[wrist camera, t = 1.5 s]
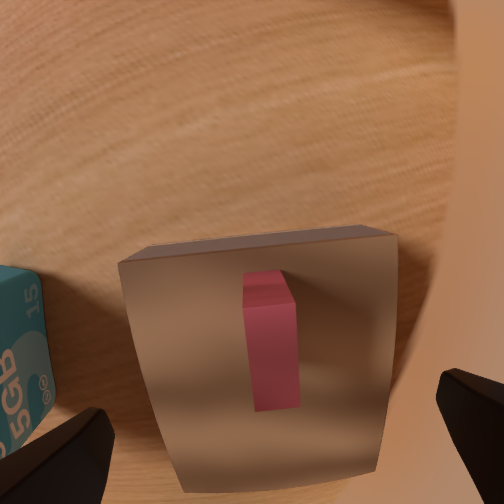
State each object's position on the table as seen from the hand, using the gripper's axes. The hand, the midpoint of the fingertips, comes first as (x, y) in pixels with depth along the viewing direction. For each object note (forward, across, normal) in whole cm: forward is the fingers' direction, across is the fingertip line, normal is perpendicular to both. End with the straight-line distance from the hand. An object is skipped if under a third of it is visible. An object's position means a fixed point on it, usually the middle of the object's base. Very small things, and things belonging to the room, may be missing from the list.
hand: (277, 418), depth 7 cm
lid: (+8, 0, +5) cm, 9 cm away
